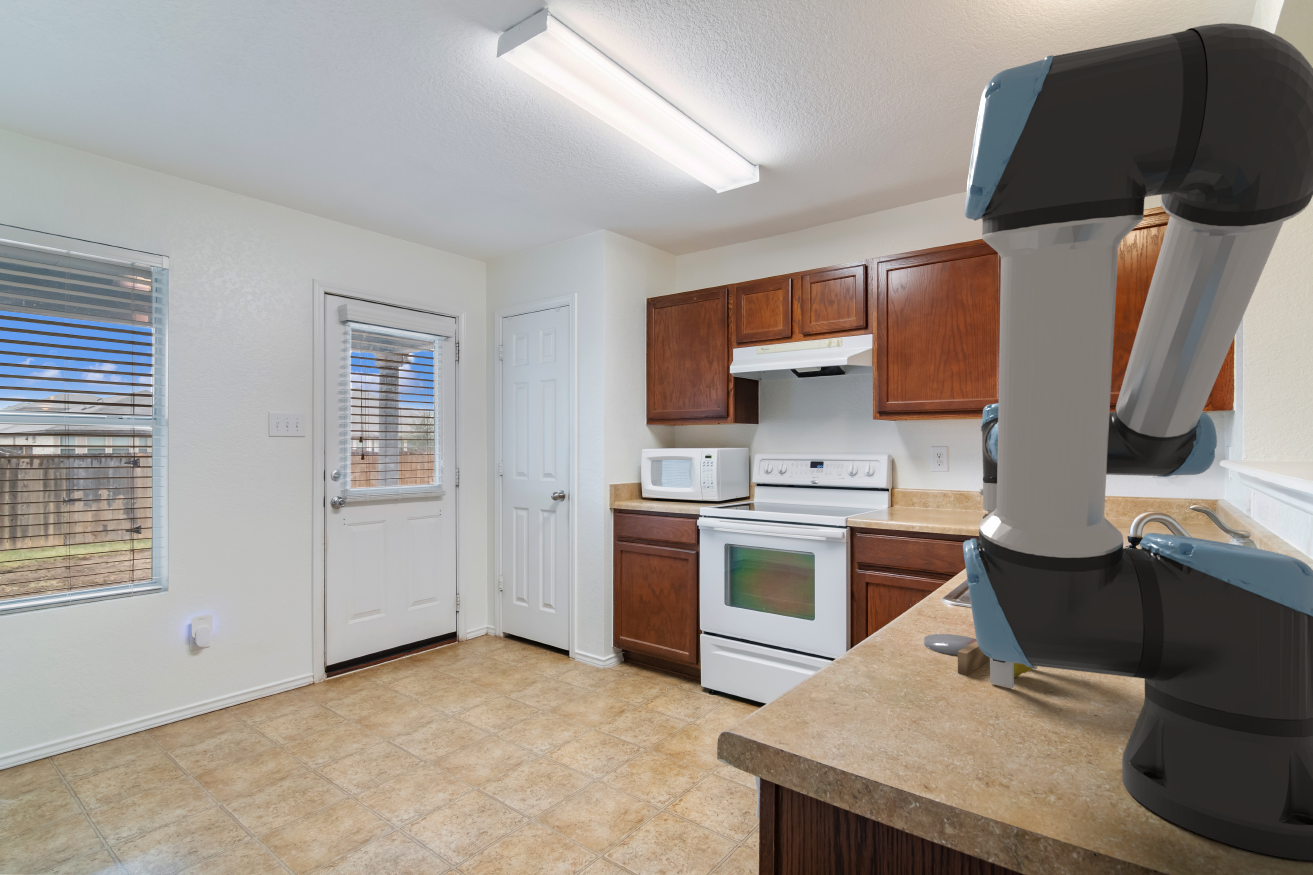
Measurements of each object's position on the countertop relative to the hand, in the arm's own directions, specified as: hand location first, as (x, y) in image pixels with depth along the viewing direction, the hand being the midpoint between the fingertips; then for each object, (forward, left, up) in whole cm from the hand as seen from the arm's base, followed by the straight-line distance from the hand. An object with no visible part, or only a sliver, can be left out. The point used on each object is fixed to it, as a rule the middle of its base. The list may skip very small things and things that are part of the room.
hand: (1014, 675), depth 88 cm
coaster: (+8, +11, 0) cm, 14 cm away
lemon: (0, 0, 0) cm, 0 cm away
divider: (+5, +5, 0) cm, 7 cm away
